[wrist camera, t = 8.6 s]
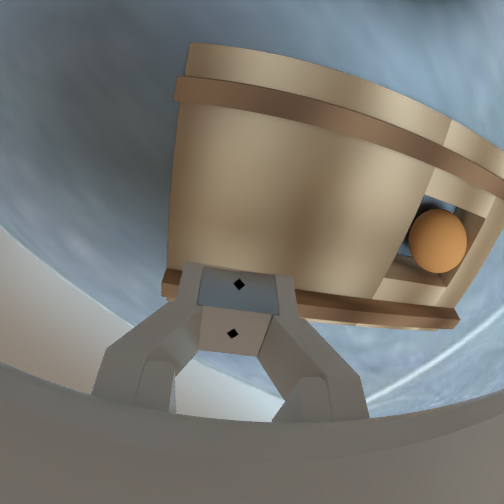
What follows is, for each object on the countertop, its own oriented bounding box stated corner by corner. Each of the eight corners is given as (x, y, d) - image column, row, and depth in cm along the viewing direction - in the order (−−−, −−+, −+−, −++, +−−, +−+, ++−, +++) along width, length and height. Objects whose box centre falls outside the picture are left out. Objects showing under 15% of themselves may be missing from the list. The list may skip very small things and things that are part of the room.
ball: (389, 244, 18) (415, 283, 15) (413, 191, 16) (447, 224, 13) (430, 252, 19) (457, 288, 16) (454, 205, 17) (487, 236, 13)
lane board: (176, 269, 20) (161, 314, 16) (202, 47, 12) (183, 39, 8) (423, 304, 22) (442, 342, 18) (501, 153, 14) (540, 178, 10)
